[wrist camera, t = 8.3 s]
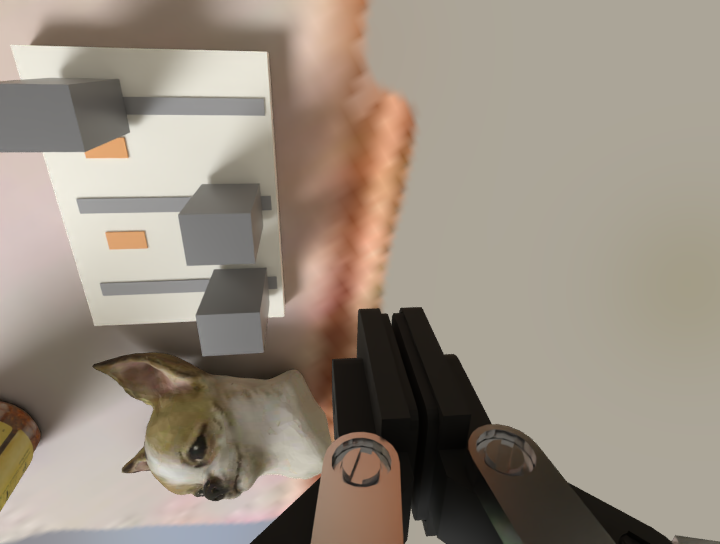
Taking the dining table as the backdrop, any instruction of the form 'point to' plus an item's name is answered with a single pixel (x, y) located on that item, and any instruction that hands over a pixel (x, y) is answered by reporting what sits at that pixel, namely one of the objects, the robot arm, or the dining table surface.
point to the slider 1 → (60, 114)
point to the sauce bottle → (15, 447)
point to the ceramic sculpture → (220, 425)
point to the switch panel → (161, 173)
